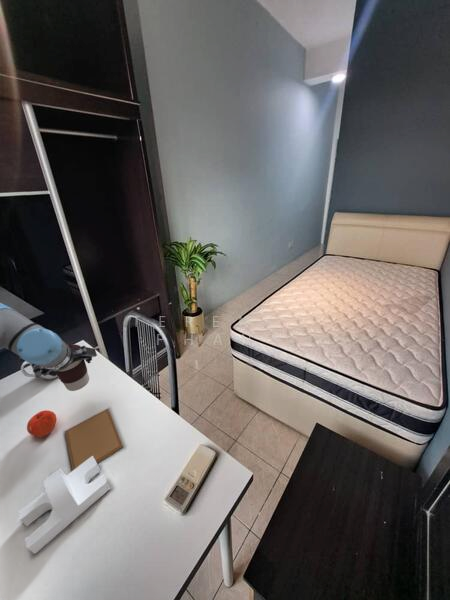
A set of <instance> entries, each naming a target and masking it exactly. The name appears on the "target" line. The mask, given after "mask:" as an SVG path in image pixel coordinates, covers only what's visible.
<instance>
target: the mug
mask: <svg viewBox="0 0 450 600" xmlns="http://www.w3.org/2000/svg"><path fill="white" fill-rule="evenodd" d="M26 365H30V366H31V367H32V365H31V363H29V362H27V361H25V360H24V361H23V363H22V364H21V366H20V371H21V373H22V375H24V377H27V378H36V377H35V373H29V372H27V371H26V370H25V366H26ZM56 375H57V374H56ZM40 378H43V379H46V380H54V379H56V378H58V376H51V375H46V376H43V375H41V377H40Z"/></svg>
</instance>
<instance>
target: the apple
mask: <svg viewBox="0 0 450 600" xmlns="http://www.w3.org/2000/svg"><path fill="white" fill-rule="evenodd" d="M57 422H58V417H57V415H56V413H55V412H53V411H52V410H41V411H39V412H37V413H36V414H34V415H33V416H32V417H31V418H30V419H29V420H28V422H27V425H26V430H27V433H28V434H29V435H30V436H33V437H38V438H39V437H45V436H47V435H49V434H50V433H51V432H52V431H53V430H54V429H55V427H56V424H57Z"/></svg>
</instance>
